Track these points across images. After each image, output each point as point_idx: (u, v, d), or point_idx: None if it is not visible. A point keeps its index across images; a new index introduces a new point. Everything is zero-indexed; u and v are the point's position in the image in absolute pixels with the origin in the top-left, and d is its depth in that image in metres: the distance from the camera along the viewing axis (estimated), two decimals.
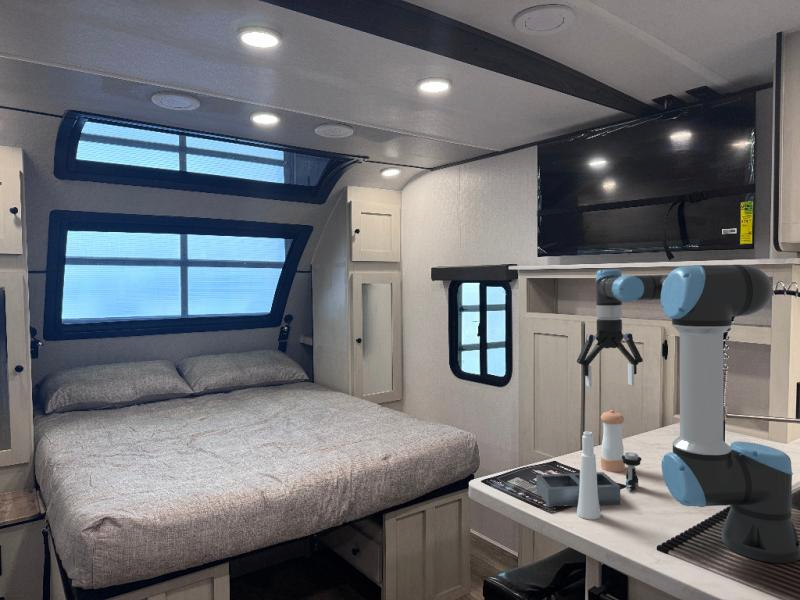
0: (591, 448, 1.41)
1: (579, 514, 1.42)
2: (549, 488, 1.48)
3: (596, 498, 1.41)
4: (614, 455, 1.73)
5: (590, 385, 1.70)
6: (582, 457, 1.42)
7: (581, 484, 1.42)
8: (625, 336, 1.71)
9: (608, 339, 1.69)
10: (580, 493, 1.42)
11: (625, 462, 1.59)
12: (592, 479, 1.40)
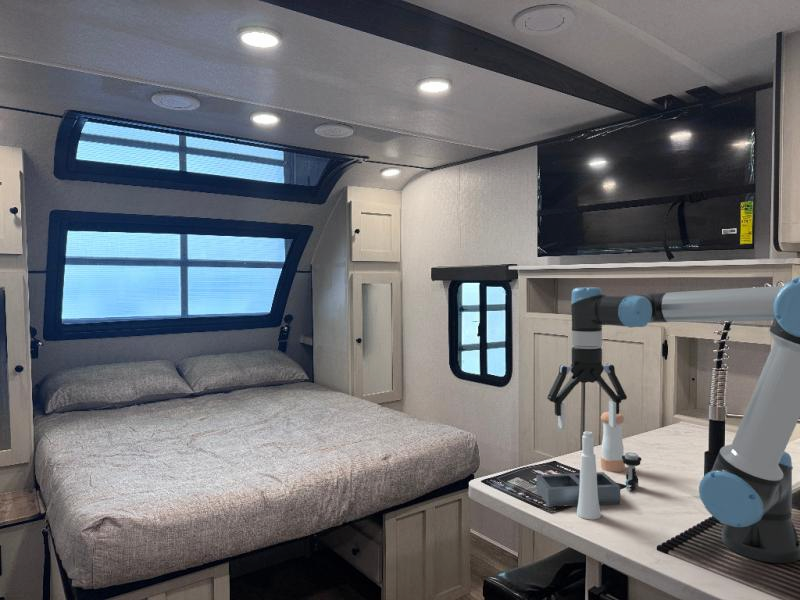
0: (591, 448, 1.41)
1: (579, 514, 1.42)
2: (549, 488, 1.48)
3: (596, 498, 1.41)
4: (614, 455, 1.73)
5: (563, 427, 1.41)
6: (582, 457, 1.42)
7: (581, 484, 1.42)
8: (606, 368, 1.41)
9: (585, 372, 1.39)
10: (580, 493, 1.42)
11: (625, 462, 1.59)
12: (592, 479, 1.40)
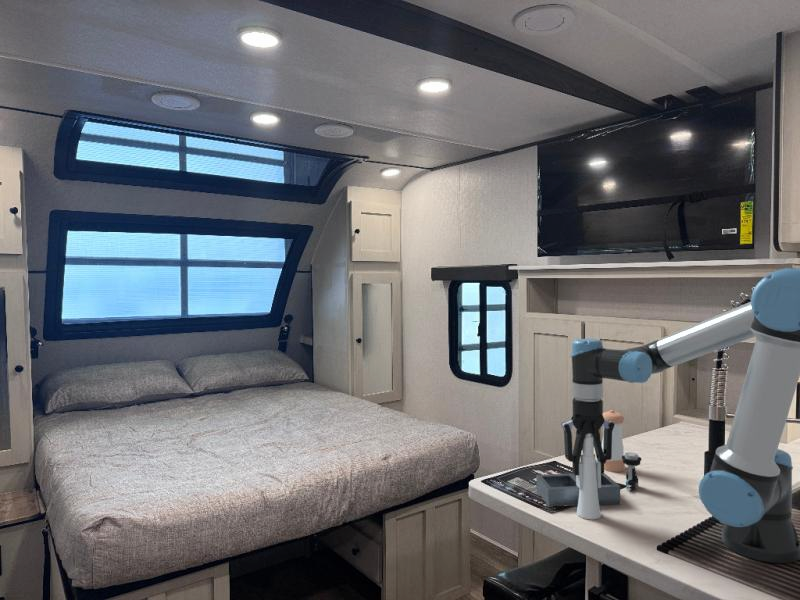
0: (591, 448, 1.41)
1: (579, 514, 1.42)
2: (549, 488, 1.48)
3: (596, 498, 1.41)
4: (614, 455, 1.73)
5: (581, 486, 1.41)
6: (582, 457, 1.42)
7: None
8: (606, 423, 1.42)
9: (586, 424, 1.40)
10: (580, 493, 1.42)
11: (625, 462, 1.59)
12: (592, 479, 1.40)
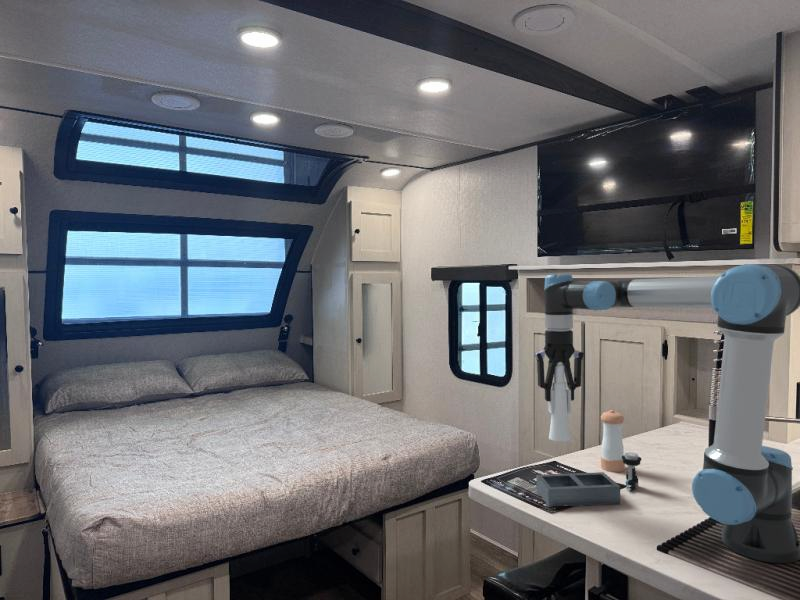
0: (562, 375, 1.51)
1: (550, 438, 1.52)
2: (549, 488, 1.48)
3: (566, 422, 1.51)
4: (614, 455, 1.73)
5: (552, 412, 1.51)
6: (553, 384, 1.52)
7: None
8: (576, 353, 1.52)
9: (557, 353, 1.50)
10: (552, 418, 1.52)
11: (625, 462, 1.59)
12: (563, 404, 1.50)
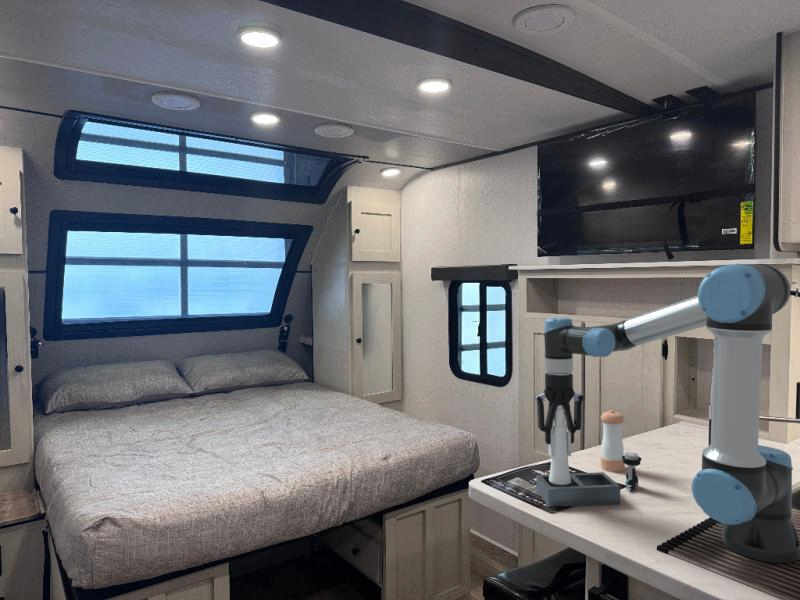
0: (562, 419, 1.52)
1: (551, 480, 1.53)
2: (549, 488, 1.48)
3: (566, 465, 1.52)
4: (614, 455, 1.73)
5: (552, 455, 1.52)
6: (553, 427, 1.52)
7: None
8: (576, 396, 1.52)
9: (557, 396, 1.51)
10: (552, 461, 1.53)
11: (625, 462, 1.59)
12: (563, 447, 1.51)
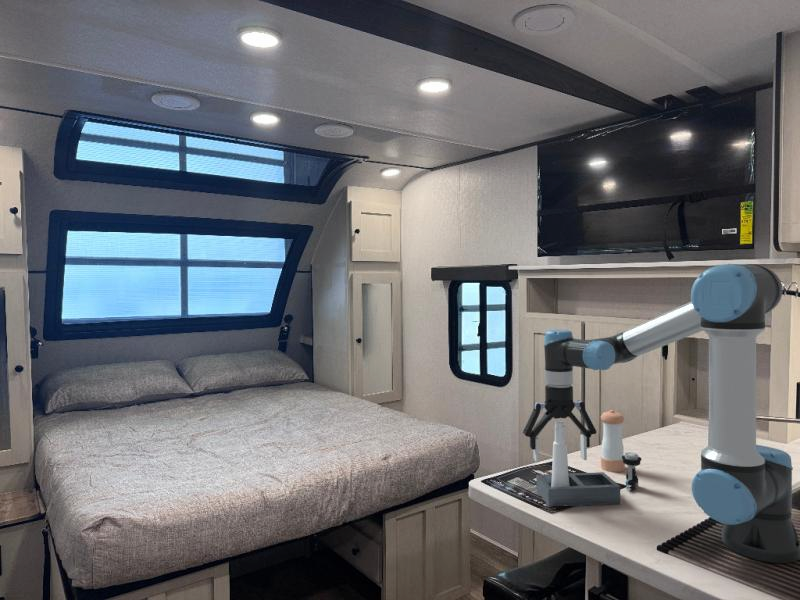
0: (562, 436, 1.52)
1: None
2: (549, 488, 1.48)
3: (567, 483, 1.52)
4: (614, 455, 1.73)
5: (537, 460, 1.52)
6: (554, 445, 1.52)
7: (553, 470, 1.53)
8: (577, 405, 1.52)
9: (557, 409, 1.51)
10: (552, 478, 1.53)
11: (625, 462, 1.59)
12: (563, 465, 1.51)
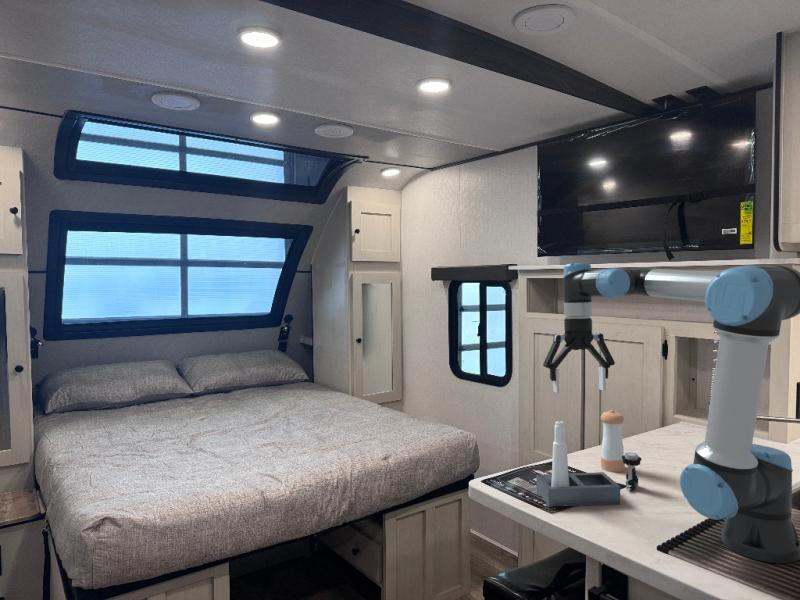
0: (562, 436, 1.52)
1: None
2: (549, 488, 1.48)
3: (567, 483, 1.52)
4: (614, 455, 1.73)
5: (558, 391, 1.54)
6: (554, 445, 1.52)
7: (553, 470, 1.53)
8: (595, 336, 1.55)
9: (577, 340, 1.53)
10: (552, 478, 1.53)
11: (625, 462, 1.59)
12: (563, 465, 1.51)
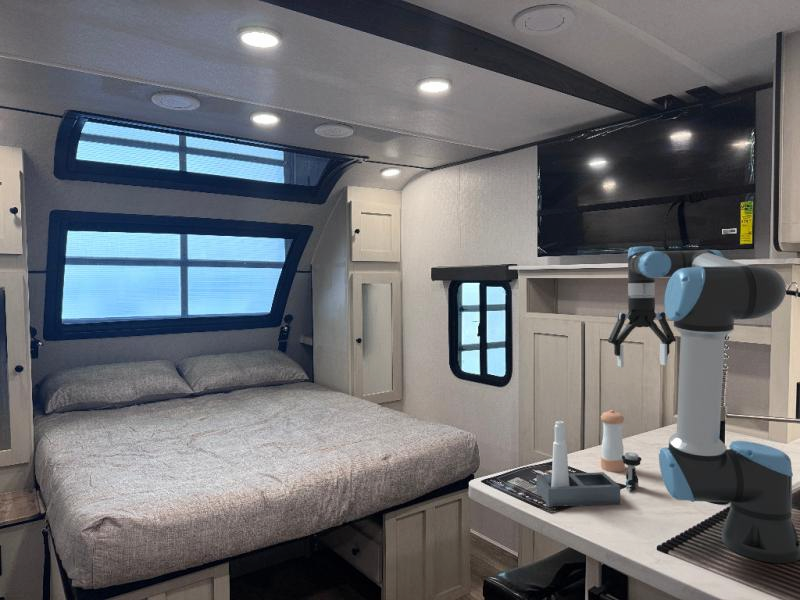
0: (562, 436, 1.52)
1: None
2: (549, 488, 1.48)
3: (567, 483, 1.52)
4: (614, 455, 1.73)
5: (622, 365, 1.66)
6: (554, 445, 1.52)
7: (553, 470, 1.53)
8: (658, 315, 1.67)
9: (641, 318, 1.65)
10: (552, 478, 1.53)
11: (625, 462, 1.59)
12: (563, 465, 1.51)
